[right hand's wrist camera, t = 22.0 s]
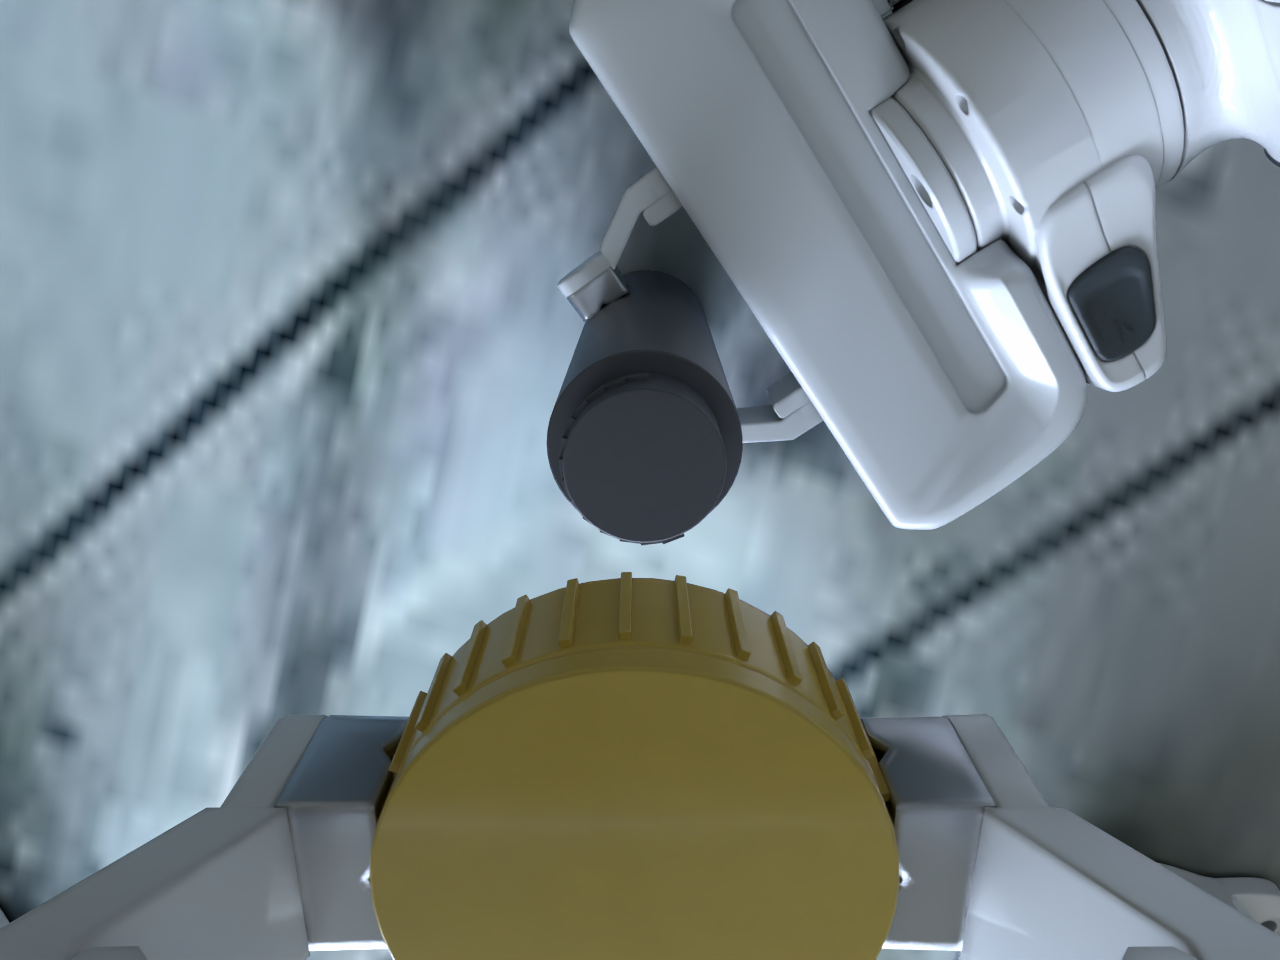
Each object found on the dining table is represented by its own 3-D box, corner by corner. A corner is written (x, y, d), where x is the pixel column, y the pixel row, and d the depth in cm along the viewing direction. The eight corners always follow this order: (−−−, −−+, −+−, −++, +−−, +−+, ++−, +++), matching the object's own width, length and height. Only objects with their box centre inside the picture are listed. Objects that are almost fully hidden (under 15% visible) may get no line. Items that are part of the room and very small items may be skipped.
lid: (828, 959, 11) (861, 1100, 10) (409, 936, 11) (367, 1076, 9) (901, 585, 9) (958, 679, 8) (401, 551, 9) (350, 641, 8)
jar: (568, 296, 34) (505, 408, 19) (682, 251, 34) (709, 333, 19) (612, 406, 36) (585, 589, 21) (722, 366, 35) (777, 525, 20)
